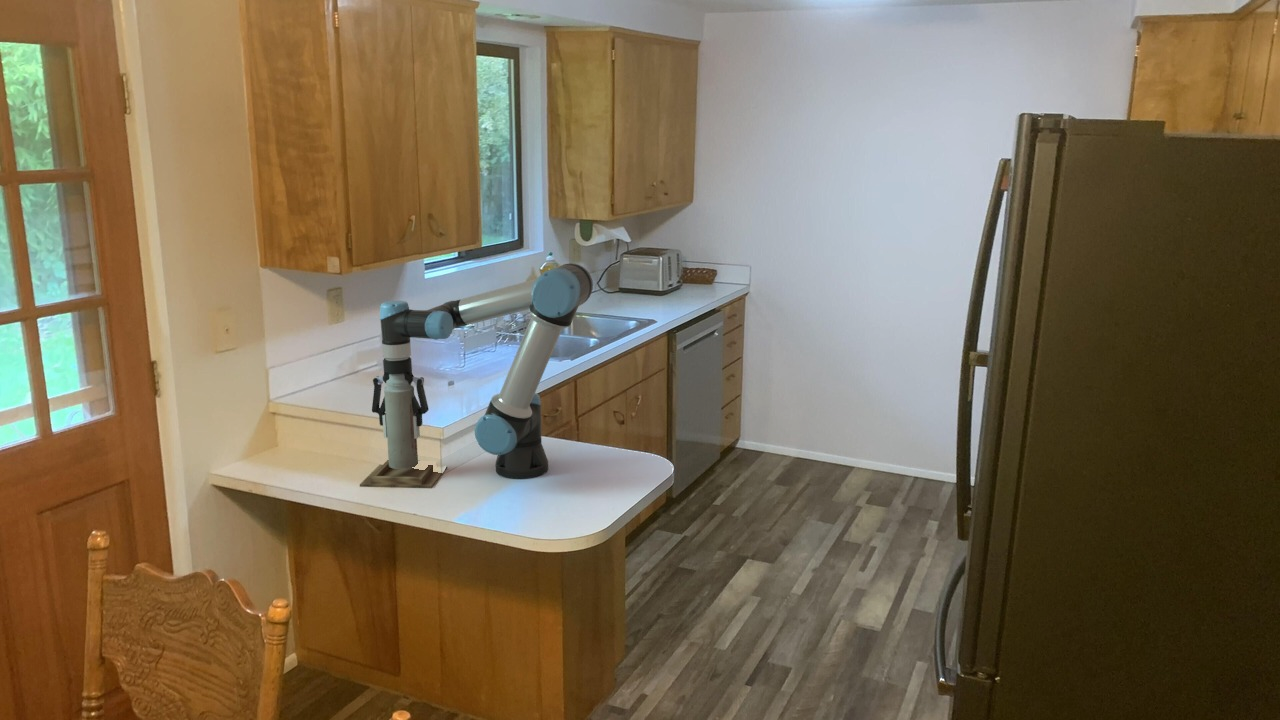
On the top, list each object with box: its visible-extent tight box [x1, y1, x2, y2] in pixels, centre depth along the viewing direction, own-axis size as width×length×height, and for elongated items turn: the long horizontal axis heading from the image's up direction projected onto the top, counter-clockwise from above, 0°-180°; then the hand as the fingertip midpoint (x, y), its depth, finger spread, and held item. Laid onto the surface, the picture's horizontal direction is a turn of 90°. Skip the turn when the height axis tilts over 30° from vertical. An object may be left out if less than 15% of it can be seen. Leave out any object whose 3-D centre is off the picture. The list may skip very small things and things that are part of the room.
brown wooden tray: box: [359, 459, 443, 489], centre depth 260 cm, size 20×16×2 cm
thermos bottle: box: [383, 374, 419, 469], centre depth 256 cm, size 8×8×28 cm
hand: (401, 436), depth 258 cm, fingers closed on thermos bottle, 8 cm apart
